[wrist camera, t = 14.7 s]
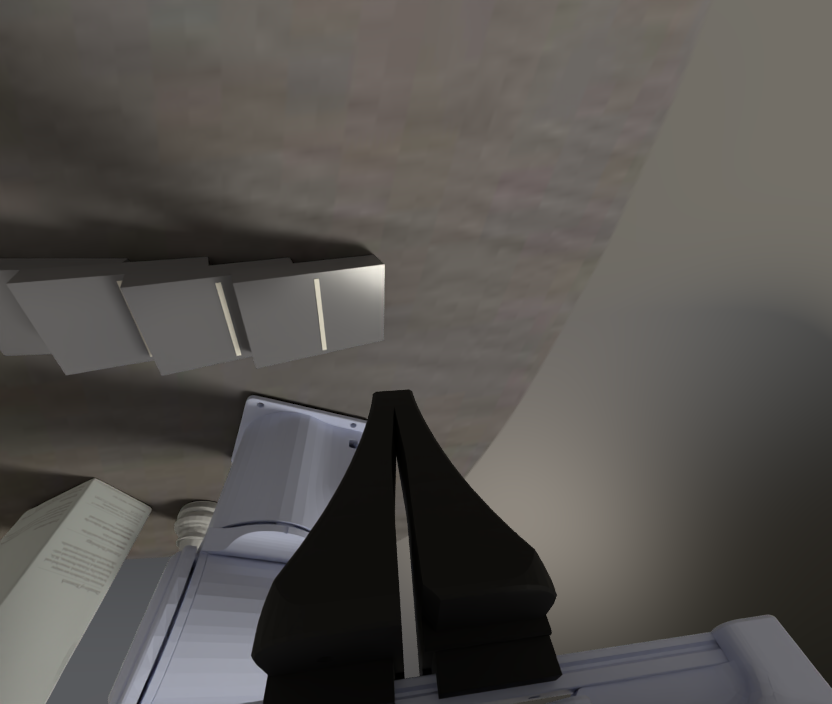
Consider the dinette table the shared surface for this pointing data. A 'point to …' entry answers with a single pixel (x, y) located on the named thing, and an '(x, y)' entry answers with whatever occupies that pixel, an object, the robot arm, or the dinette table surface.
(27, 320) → the domino
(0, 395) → the dinette table surface
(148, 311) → the domino
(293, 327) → the domino
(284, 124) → the dinette table surface
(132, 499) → the skincare box
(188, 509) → the chess piece
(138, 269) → the domino
